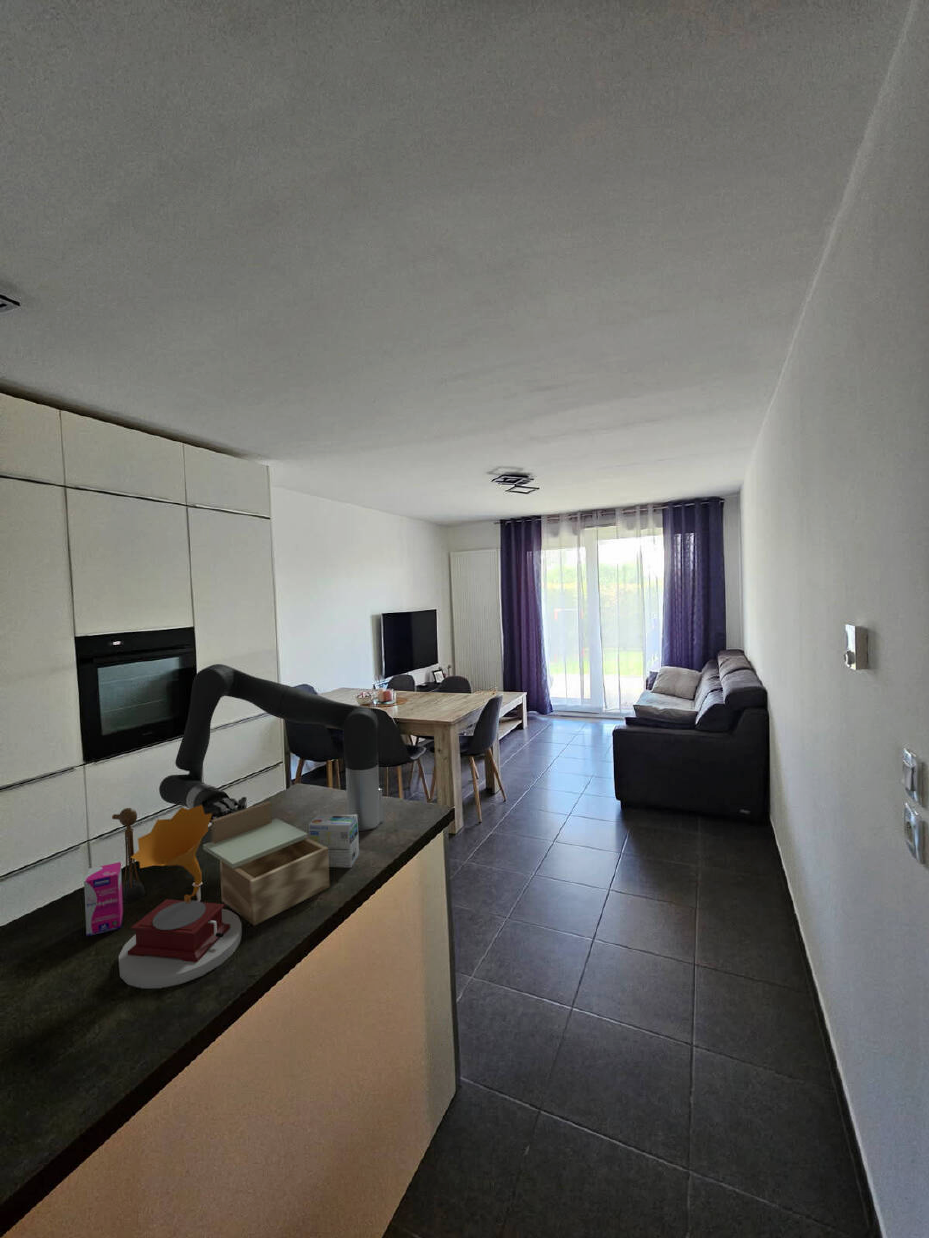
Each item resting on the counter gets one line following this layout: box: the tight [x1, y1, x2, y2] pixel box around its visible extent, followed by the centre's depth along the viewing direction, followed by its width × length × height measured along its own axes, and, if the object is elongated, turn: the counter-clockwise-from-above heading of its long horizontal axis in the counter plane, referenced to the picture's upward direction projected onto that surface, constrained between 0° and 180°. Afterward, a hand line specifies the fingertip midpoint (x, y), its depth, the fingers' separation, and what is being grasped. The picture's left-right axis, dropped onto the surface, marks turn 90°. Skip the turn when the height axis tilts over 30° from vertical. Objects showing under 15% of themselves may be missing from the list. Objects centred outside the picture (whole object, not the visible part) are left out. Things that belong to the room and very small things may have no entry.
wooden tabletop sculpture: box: [111, 807, 146, 903], centre depth 119 cm, size 6×5×20 cm
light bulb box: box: [307, 813, 360, 869], centre depth 133 cm, size 11×7×11 cm, turn 84°
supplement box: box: [83, 862, 124, 937], centre depth 108 cm, size 6×6×12 cm
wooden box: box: [219, 837, 330, 926], centre depth 119 cm, size 18×14×9 cm
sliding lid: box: [202, 800, 309, 869], centre depth 124 cm, size 18×14×6 cm
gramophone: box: [118, 805, 243, 989], centre depth 100 cm, size 20×20×25 cm
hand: (239, 818), depth 128 cm, fingers closed
